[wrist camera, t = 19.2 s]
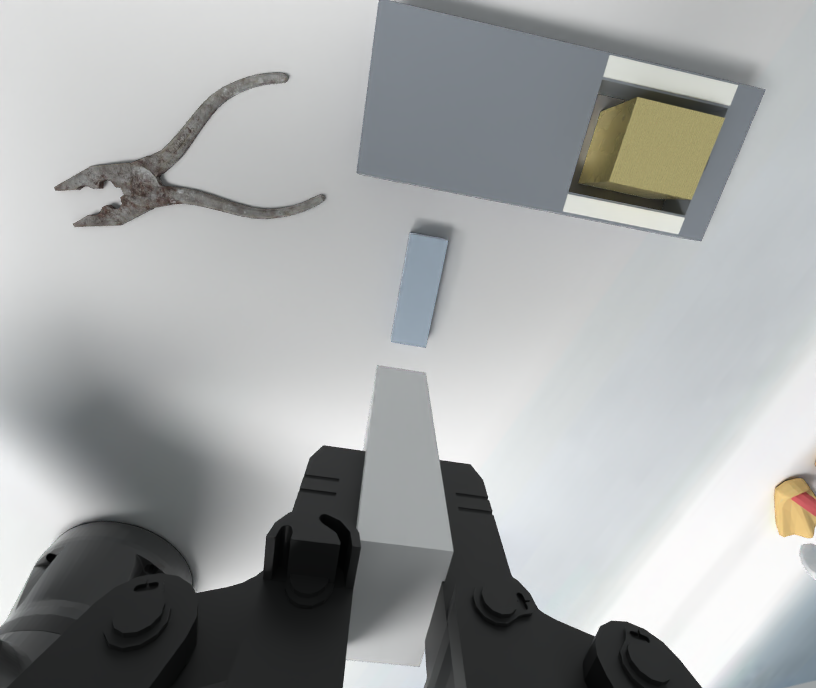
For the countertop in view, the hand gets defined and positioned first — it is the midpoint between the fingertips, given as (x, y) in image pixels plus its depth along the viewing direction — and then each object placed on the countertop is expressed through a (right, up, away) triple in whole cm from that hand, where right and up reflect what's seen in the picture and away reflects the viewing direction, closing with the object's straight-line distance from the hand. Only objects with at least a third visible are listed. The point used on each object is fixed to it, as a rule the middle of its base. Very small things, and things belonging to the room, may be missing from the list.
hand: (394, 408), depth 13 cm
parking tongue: (+1, +7, +21) cm, 23 cm away
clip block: (+14, +16, +16) cm, 27 cm away
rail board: (+11, +17, +18) cm, 27 cm away
